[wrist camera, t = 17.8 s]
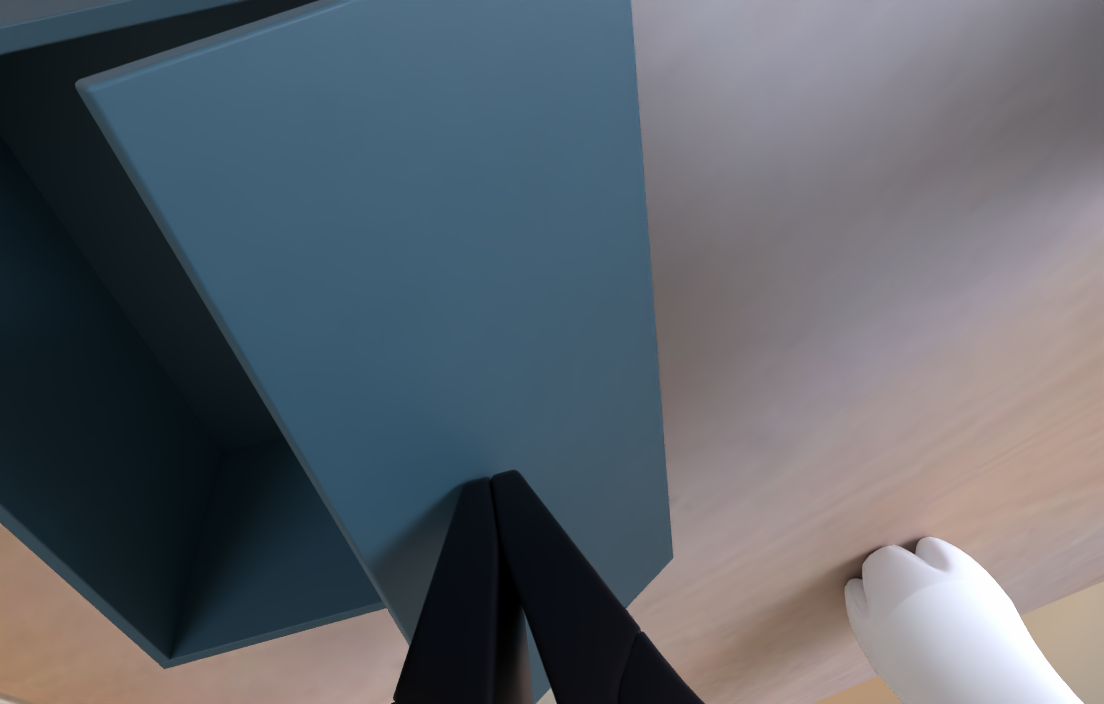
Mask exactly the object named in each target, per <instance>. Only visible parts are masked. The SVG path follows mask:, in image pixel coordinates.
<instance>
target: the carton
mask: <svg viewBox="0 0 1104 704" xmlns="http://www.w3.org/2000/svg"><path fill="white" fill-rule="evenodd" d="M315 1H318V0H0V523H1V524H2V525H3V526H5V527H6V528H7V529H8V530H9V531H10V532H11V533H12V534H14V535H15V536H16V537H17V538H18V539H19V540H20V541H21V542H22V543H24V544H25V545H26V546H27V547H28V548H29V549H30V550H31V551H33V552H34V553H35V554H36V555H37V556H38V557H39V558H40V559H42V560H43V561H44V562H45V563H46V564H47V565H48V566H49V567H51V568H52V569H53V570H54V571H55V572H56V573H57V574H58V575H59V576H61V577H62V578H63V579H64V580H65V581H66V582H67V583H68V584H70V585H71V586H72V587H73V588H74V589H75V590H76V591H77V592H79V593H80V594H81V595H82V596H83V597H84V598H85V599H86V600H88V601H89V602H90V603H91V604H92V605H93V606H94V607H95V608H96V609H98V610H99V611H100V612H101V613H102V614H103V615H104V616H105V617H107V618H108V619H109V620H110V621H111V622H112V623H113V624H114V625H116V626H117V627H118V628H119V629H120V630H121V631H122V632H123V633H125V634H126V635H127V636H128V637H129V638H130V639H131V640H132V641H133V642H135V643H136V644H137V645H138V646H139V647H140V648H141V649H142V650H144V651H145V652H146V653H147V654H148V655H149V656H150V657H151V658H153V659H154V660H155V661H156V662H157V663H159V665H160V666H162V667H163V668H164V669H166V668H170V667H174V666H177V665H181V664H185V663H188V662H192V661H196V660H199V659H203V658H206V657H210V656H214V655H217V654H221V653H225V652H228V651H232V650H236V649H239V648H243V647H246V646H250V645H254V644H257V643H261V642H265V641H268V640H272V639H276V638H279V637H283V636H286V635H290V634H294V633H297V632H301V631H305V630H308V629H312V628H316V627H319V626H323V625H327V624H330V623H334V622H337V621H341V620H345V619H348V618H352V617H356V616H359V615H363V614H367V613H370V612H374V611H377V610H381V609H385V608H386V606H385V604H384V603H383V601H382V599H381V598H380V596H379V594H378V593H377V591H376V589H375V588H374V586H373V584H372V583H371V581H370V579H369V578H368V576H367V574H366V573H365V571H364V569H363V568H362V566H361V564H360V563H359V561H358V559H357V558H356V556H355V554H354V553H353V551H352V549H351V548H350V546H349V544H348V542H347V541H346V539H345V537H344V536H343V534H342V532H341V531H340V529H339V527H338V526H337V524H336V522H335V521H334V519H333V517H332V516H331V514H330V512H329V511H328V509H327V507H326V506H325V504H324V502H323V501H322V499H321V497H320V496H319V494H318V492H317V491H316V489H315V487H314V486H313V484H312V482H311V481H310V479H309V477H308V476H307V474H306V472H305V471H304V469H303V467H302V466H301V464H300V462H299V461H298V459H297V457H296V456H295V454H294V452H293V451H292V449H291V447H290V446H289V444H288V442H287V441H286V439H285V437H284V436H283V434H282V432H281V431H280V429H279V427H278V425H277V424H276V422H275V420H274V419H273V417H272V415H271V414H270V412H269V410H268V409H267V407H266V405H265V404H264V402H263V400H262V399H261V397H260V395H259V394H258V392H257V390H256V389H255V387H254V385H253V384H252V382H251V380H250V379H249V377H248V375H247V374H246V372H245V370H244V369H243V367H242V365H241V364H240V362H239V360H238V359H237V357H236V355H235V354H234V352H233V350H232V349H231V347H230V345H229V344H228V342H227V340H226V339H225V337H224V335H223V334H222V332H221V330H220V329H219V327H218V325H217V324H216V322H215V320H214V319H213V317H212V315H211V313H210V312H209V310H208V308H207V307H206V305H205V303H204V302H203V300H202V298H201V297H200V295H199V293H198V292H197V290H196V288H195V287H194V285H193V283H192V282H191V280H190V278H189V277H188V275H187V273H186V272H185V270H184V268H183V267H182V265H181V263H180V262H179V260H178V258H177V257H176V255H175V253H174V252H173V250H172V248H171V247H170V245H169V243H168V242H167V240H166V238H165V237H164V235H163V233H162V232H161V230H160V228H159V227H158V225H157V223H156V222H155V220H154V218H153V217H152V215H151V213H150V212H149V210H148V208H147V207H146V205H145V203H144V201H143V200H142V198H141V196H140V195H139V193H138V191H137V190H136V188H135V186H134V185H133V183H132V181H131V180H130V178H129V176H128V175H127V173H126V171H125V170H124V168H123V166H122V165H121V163H120V161H119V160H118V158H117V156H116V155H115V153H114V151H113V150H112V148H111V146H110V145H109V143H108V141H107V140H106V138H105V136H104V135H103V133H102V131H101V130H100V128H99V126H98V125H97V123H96V121H95V120H94V118H93V116H92V115H91V113H90V111H89V110H88V108H87V106H86V105H85V103H84V101H83V100H82V98H81V96H80V95H79V93H78V91H77V90H76V86H75V83H76V82H77V81H78V80H79V79H82V78H85V77H88V76H92V75H95V74H98V73H101V72H104V71H107V70H110V69H113V68H116V67H119V66H122V65H125V64H128V63H131V62H134V61H137V60H140V59H143V58H146V57H149V56H152V55H155V54H158V53H161V52H164V51H167V50H170V49H173V48H176V47H179V46H182V45H185V44H188V43H191V42H194V41H197V40H200V39H203V38H207V37H210V36H213V35H216V34H219V33H222V32H225V31H228V30H231V29H234V28H237V27H240V26H243V25H246V24H249V23H252V22H255V21H258V20H261V19H264V18H267V17H270V16H273V15H276V14H279V13H282V12H285V11H288V10H291V9H294V8H297V7H300V6H303V5H306V4H309V3H312V2H315Z"/></svg>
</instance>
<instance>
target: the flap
mask: <svg viewBox="0 0 1104 704" xmlns="http://www.w3.org/2000/svg"><path fill="white" fill-rule="evenodd" d="M75 86H76V90H77V91H78V93H79V95H80V96H81V98H82V100H83V101H84V103H85V105H86V106H87V108H88V110H89V111H90V113H91V115H92V116H93V118H94V120H95V121H96V123H97V125H98V126H99V128H100V130H101V131H102V133H103V135H104V136H105V138H106V140H107V141H108V143H109V145H110V146H111V148H112V150H113V151H114V153H115V155H116V156H117V158H118V160H119V161H120V163H121V165H122V166H123V168H124V170H125V171H126V173H127V175H128V176H129V178H130V180H131V181H132V183H133V185H134V186H135V188H136V190H137V191H138V193H139V195H140V196H141V198H142V200H143V201H144V203H145V205H146V207H147V208H148V210H149V212H150V213H151V215H152V217H153V218H154V220H155V222H156V223H157V225H158V227H159V228H160V230H161V232H162V233H163V235H164V237H165V238H166V240H167V242H168V243H169V245H170V247H171V248H172V250H173V252H174V253H175V255H176V257H177V258H178V260H179V262H180V263H181V265H182V267H183V268H184V270H185V272H186V273H187V275H188V277H189V278H190V280H191V282H192V283H193V285H194V287H195V288H196V290H197V292H198V293H199V295H200V297H201V298H202V300H203V302H204V303H205V305H206V307H207V308H208V310H209V312H210V313H211V315H212V317H213V319H214V320H215V322H216V324H217V325H218V327H219V329H220V330H221V332H222V334H223V335H224V337H225V339H226V340H227V342H228V344H229V345H230V347H231V349H232V350H233V352H234V354H235V355H236V357H237V359H238V360H239V362H240V364H241V365H242V367H243V369H244V370H245V372H246V374H247V375H248V377H249V379H250V380H251V382H252V384H253V385H254V387H255V389H256V390H257V392H258V394H259V395H260V397H261V399H262V400H263V402H264V404H265V405H266V407H267V409H268V410H269V412H270V414H271V415H272V417H273V419H274V420H275V422H276V424H277V425H278V427H279V429H280V431H281V432H282V434H283V436H284V437H285V439H286V441H287V442H288V444H289V446H290V447H291V449H292V451H293V452H294V454H295V456H296V457H297V459H298V461H299V462H300V464H301V466H302V467H303V469H304V471H305V472H306V474H307V476H308V477H309V479H310V481H311V482H312V484H313V486H314V487H315V489H316V491H317V492H318V494H319V496H320V497H321V499H322V501H323V502H324V504H325V506H326V507H327V509H328V511H329V512H330V514H331V516H332V517H333V519H334V521H335V522H336V524H337V526H338V527H339V529H340V531H341V532H342V534H343V536H344V537H345V539H346V541H347V542H348V544H349V546H350V548H351V549H352V551H353V553H354V554H355V556H356V558H357V559H358V561H359V563H360V564H361V566H362V568H363V569H364V571H365V573H366V574H367V576H368V578H369V579H370V581H371V583H372V584H373V586H374V588H375V589H376V591H377V593H378V594H379V596H380V598H381V599H382V601H383V603H384V604H385V606H386V608H387V609H388V611H389V613H390V614H391V616H392V618H393V619H394V621H395V623H396V624H397V626H398V628H399V629H400V631H401V633H402V634H403V636H404V638H405V639H406V641H407V643H408V644H409V646H410V644H411V641H412V638H413V635H414V632H415V629H416V626H417V623H418V620H419V616H420V613H421V610H422V607H423V604H424V601H425V598H426V595H427V592H428V589H429V586H430V583H431V580H432V577H433V574H434V571H435V568H436V564H437V561H438V558H439V555H440V552H441V549H442V546H443V543H444V540H445V537H446V534H447V531H448V528H449V525H450V522H451V519H452V516H453V512H454V509H455V506H456V503H457V500H458V497H459V494H460V491H461V488H462V486H463V484H464V483H466V482H468V481H472V480H475V479H479V478H483V477H489V478H490V479H491V478H492V476H493V475H495V474H498V473H501V472H505V471H509V470H513V469H515V470H517V471H519V472H520V473H521V475H522V476H523V477H524V479H525V480H526V481H527V482H528V484H529V485H530V486H531V488H532V489H533V490H534V492H535V493H536V494H537V495H538V497H539V498H540V499H541V501H542V502H543V503H544V504H545V506H546V507H547V508H548V510H549V511H550V512H551V513H552V515H553V516H554V517H555V519H556V520H557V521H558V522H559V524H560V525H561V526H562V528H563V529H564V530H565V531H566V533H567V534H568V535H569V537H570V538H571V539H572V540H573V542H574V543H575V544H576V546H577V547H578V548H579V550H580V551H581V552H582V553H583V555H584V556H585V557H586V559H587V560H588V561H589V562H590V564H591V565H592V566H593V568H594V569H595V570H596V571H597V573H598V574H599V575H600V577H601V578H602V579H603V580H604V582H605V583H606V584H607V586H608V587H609V588H610V589H611V591H612V592H613V593H614V595H615V596H616V597H617V599H618V600H619V601H620V602H621V604H622V605H623V606H624V608H625V609H626V608H627V606H628V605H629V604H630V603H631V602H632V601H633V600H634V599H635V598H636V597H637V596H638V595H639V594H640V593H641V592H642V591H643V589H644V588H645V587H646V586H647V585H648V584H649V583H650V582H651V581H652V580H653V579H654V578H655V577H656V576H657V575H658V574H659V572H660V571H661V570H662V569H663V568H664V567H665V566H666V565H667V564H668V563H669V562H670V561H671V560H672V559H673V550H672V536H671V523H670V510H669V497H668V484H667V471H666V458H665V445H664V432H663V418H662V405H661V392H660V379H659V366H658V353H657V340H656V327H655V314H654V300H653V287H652V274H651V261H650V248H649V235H648V222H647V209H646V196H645V182H644V169H643V156H642V143H641V130H640V117H639V104H638V91H637V78H636V64H635V51H634V38H633V25H632V12H631V0H318V1H315V2H312V3H309V4H306V5H303V6H300V7H297V8H294V9H291V10H288V11H285V12H282V13H279V14H276V15H273V16H270V17H267V18H264V19H261V20H258V21H255V22H252V23H249V24H246V25H243V26H240V27H237V28H234V29H231V30H228V31H225V32H222V33H219V34H216V35H213V36H210V37H207V38H203V39H200V40H197V41H194V42H191V43H188V44H185V45H182V46H179V47H176V48H173V49H170V50H167V51H164V52H161V53H158V54H155V55H152V56H149V57H146V58H143V59H140V60H137V61H134V62H131V63H128V64H125V65H122V66H119V67H116V68H113V69H110V70H107V71H104V72H101V73H98V74H95V75H92V76H88V77H85V78H82V79H79V80H78V81H77V82H76V83H75ZM524 615H525V613H524ZM525 623H526V631H527V641H528V652H529V662H530V673H531V684H532V694H533V704H536V703H537V702H538V701H539V700H540V699H541V698H542V697H543V696H544V695H545V694H546V693H547V691H548V690H549V689H550V688H551V687H550V684H549V681H548V678H547V675H546V672H545V670H544V667H543V664H542V661H541V658H540V655H539V653H538V650H537V647H536V644H535V641H534V638H533V636H532V633H531V630H530V627H529V624H528V621H527V619H526V616H525Z"/></svg>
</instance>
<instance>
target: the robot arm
mask: <svg viewBox="0 0 1104 704" xmlns="http://www.w3.org/2000/svg"><path fill="white" fill-rule="evenodd" d="M524 613H525V615H524ZM525 616H526V619H527V621H528V624H529V627H530V630H531V633H532V636H533V638H534V641H535V644H536V647H537V650H538V653H539V655H540V658H541V661H542V664H543V667H544V670H545V672H546V675H547V678H548V681H549V684H550V687H551V689H552V692H553V695H554V698H555V701H556V704H705V703H704V702H703V701H702V700H701V699H700V698H699V697H698V696H697V695H696V694H695V693H694V692H693V691H692V690H691V689H690V687H689V686H688V685H687V684H686V683H685V682H684V681H683V680H682V679H681V677H680V676H679V675H678V674H677V673H676V671H675V670H674V669H673V668H672V667H671V665H670V664H669V663H668V662H667V661H666V659H665V658H664V657H663V656H662V655H661V653H660V652H659V651H658V650H657V648H656V647H655V646H654V644H653V643H652V642H651V641H650V639H649V638H648V637H647V635H646V634H645V633H644V632H642V631H641V630H640V627H639V626H638V624H637V623H636V622H635V620H634V619H633V618H632V617H631V615H630V614H629V613H628V611H627V610H626V609H625V608H624V606H623V605H622V604H621V602H620V601H619V600H618V599H617V597H616V596H615V595H614V593H613V592H612V591H611V589H610V588H609V587H608V586H607V584H606V583H605V582H604V580H603V579H602V578H601V577H600V575H599V574H598V573H597V571H596V570H595V569H594V568H593V566H592V565H591V564H590V562H589V561H588V560H587V559H586V557H585V556H584V555H583V553H582V552H581V551H580V550H579V548H578V547H577V546H576V544H575V543H574V542H573V540H572V539H571V538H570V537H569V535H568V534H567V533H566V531H565V530H564V529H563V528H562V526H561V525H560V524H559V522H558V521H557V520H556V519H555V517H554V516H553V515H552V513H551V512H550V511H549V510H548V508H547V507H546V506H545V504H544V503H543V502H542V501H541V499H540V498H539V497H538V495H537V494H536V493H535V492H534V490H533V489H532V488H531V486H530V485H529V484H528V482H527V481H526V480H525V479H524V477H523V476H522V475H521V473H520V472H519V471H517V470H515V469H513V470H509V471H505V472H501V473H498V474H495V475H493V476H492V478H491V479H490V478H489V477H483V478H479V479H475V480H472V481H468V482H466V483H464V484H463V486H462V488H461V491H460V494H459V497H458V500H457V503H456V506H455V509H454V512H453V516H452V519H451V522H450V525H449V528H448V531H447V534H446V537H445V540H444V543H443V546H442V549H441V552H440V555H439V558H438V561H437V564H436V568H435V571H434V574H433V577H432V580H431V583H430V586H429V589H428V592H427V595H426V598H425V601H424V604H423V607H422V610H421V613H420V616H419V620H418V623H417V626H416V629H415V632H414V635H413V638H412V641H411V644H410V647H409V650H408V653H407V656H406V659H405V662H404V665H403V668H402V671H401V675H400V678H399V681H398V684H397V687H396V690H395V693H394V696H393V700H394V701H395V702H393V703H391V704H533V694H532V684H531V673H530V662H529V652H528V641H527V631H526V623H525Z"/></svg>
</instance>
